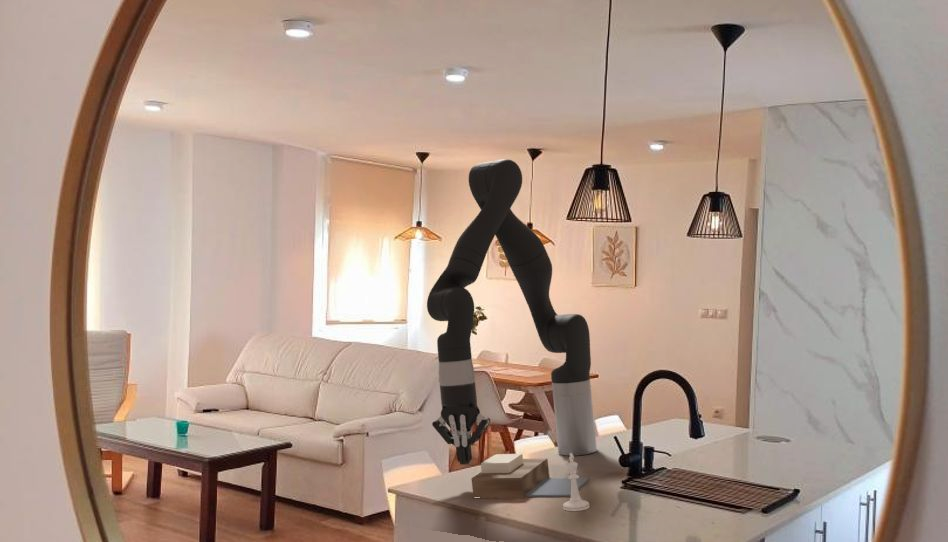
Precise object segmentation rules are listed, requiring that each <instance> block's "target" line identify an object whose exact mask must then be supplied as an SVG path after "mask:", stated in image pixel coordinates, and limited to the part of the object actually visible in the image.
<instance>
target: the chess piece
mask: <svg viewBox="0 0 948 542" xmlns="http://www.w3.org/2000/svg"><path fill="white" fill-rule="evenodd" d="M574 458H575V455H573V453H570V455H569V457H568V460H569V462H567V463H566V467H567V469H568V472H569V475H568V476H567V478H568V479H571V497H570V498H569V500H568V501H565V502H564V503H563V504H562V510H564V511H567V512H582V511H585V510H588V509H589V508H591V507H590V502H589V501H587V500H584V499H583V498H582V497H581V496H580V491H579V490H578V486H577V481H576V479H577V478H580V476H579V475H578V474H577V468H578V464H579V463H578V462H576V461H574Z"/></svg>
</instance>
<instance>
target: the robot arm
mask: <svg viewBox="0 0 948 542" xmlns="http://www.w3.org/2000/svg"><path fill="white" fill-rule="evenodd" d="M522 184H523V174H522V170H521V168H520V166H519V164H517V163H516V162H515V161H514V160H512V159H507V158H506V159H496V160H492V161H491V160H490V161H486V162H485V161H484V162H480V163H477V164H475V165H473V166H472V167H471V168H470V171H469V174H468V186H469V188H470V189H469V190H470V192H471V195H472V197H473V198H474V200H475V203H476V204H477V205H478V207H479V209H480V211H479V213H478V214H477V215H476V216H475V218H474V219H473V220H472V221H471V223H469V224H468V226H467V227H466V228H465V229H464V231H463V232H462V233H461V235H460V236H459V238H458V239H457V240H456V243H455V245H454V247H453V250H452V252H451V255H450V257H449V261H448V263H447V266H446V267H445V269H444V270H443V272H442V273H441V274H440V276H438V279H436V281H435V283H434V284H433V286H432V288H431V289H430V291H429V293H428V295H427V300H426V309H427V312H428V315H429V316H430V318H431V319H433V320H434V321H438V322H447V327H446V331H445V332H444V333H441V334H440V335H439V336H438V337H437V341H436V342H437V343H436V345H437V357H438V358H437V359H438V382H439V391H440V401H441V411H440V416H439V417H438V418H437V419H436V420H434V421H433V422H432V423H431V426H432V427H433V428H434V429H435V431H436V432H437V433H438V435H440V436H441V438H442V439H443V440H444V442H446V444H447V445H453V446H454V447H455V449H456V452H455V453H456V460H457V462H458V463H459V465H462V466H463V465H464V466H465V465H469V464H470V462H472V459H473V454H472V445H473V444H475V443H478V441H479V440H480V439H481V437H482V435H483V434H484V432H485V431H486V429H488V426H489V424H490V423H491V419H490V418H489V417H485V416H484V415H482V414H481V411H480V408H479V407H478V401H477V400H478V399H477V389H476V377H475V368H474V363H473V360H472V347H471V336H472V331H473V329H472V328H473V323H474V317H475V303H474V302H475V301H474V298H473V296H472V294H471V293H470V291H469V290H468V289H466V287H468V286H471V285H473V284H474V283H475V282H476V281H477V279H478V277H479V275H480V272H481V270H482V266H484V265H483V264H484V261H485V258H486V256H487V253H488V251H489V248H490V247H491V245H492V242H493V240H494V238H495V237H496V239H497V241H498V244H499V245H500V247H501V249H502V251H503V254H504V256H505V258H506V260H507V263H508V265H509V267H510V269H511V270H510V271H512V273H513V276H514V278H515V281H516V282H517V284H518V285H519V288H520V290H521V292H522V295H523V297H524V299H525V301H526V304H527V307H528V309H529V312H530V315H531V317H532V321H533V324H534V326H535V330H536V331H537V334H538V338H539V340H540V342H541V344H542V346H543V347H544V349H545V350H546V351H548V352H549V353H554V354H562V353H563V354H565V360H564V363H563V364H562V365H560V366H559V367H556V368H554V369H553V370H552V371H550V377H551V379H550V380H551V387H552V396H553V407H554V408H553V409H554V417H555V418H554V419H555V430H556V441H557V450H558V454H559V455H562V456H570V453H573V456H581V455H582V456H583V455H588V454H589V455H590V454H592V453H596V452H597V441H596V438H597V437H596V429H595V428H596V427H595V419H594V418H595V417H594V408H593V407H594V406H593V405H594V404H593V396H592V389H591V388H592V387H591V386H592V385H591V379H590V378H591V377H590V376H591V375H590V374H591V373H590V372H591V367H592V366H591V365H592V359H591V337H590V335H591V334H590V329H589V325H588V322H587V320H586V318H585V317H584V316H583V315H582V314H578V313H571V314H570V313H569V314H558V313H557V312H556V310H555V309H554V306H553V304H552V301H551V298H550V290H551V283H552V277H553V263H552V261H551V258H550V256H549V254H548V252H547V250H546V247H545V245H544V243H543V241H542V239H541V238H540V237H539V236H538V235H537V234H536V233H535V231H533V230H532V229H531V228H530V227H528V226H527V224H526V223H524V222H523V221H522V220H521V219H520V218H519V217H517V216H516V215H515V213H514V212H513V210H512V206H513V204H514V203H515V201H516V200H517V199H518V198H517V197H518V196H519V194H520V191H521V189H522ZM475 423H476V425H477V427H476V429H475V430H474V432H473V427H474V425H475ZM447 426H448V427H449V428H448V427H447Z"/></svg>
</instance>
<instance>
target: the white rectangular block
mask: <svg viewBox="0 0 948 542" xmlns="http://www.w3.org/2000/svg"><path fill="white" fill-rule="evenodd" d="M523 459H524V457H523V453H502V454H501V453H498V454H497V453H496V454H494V455H492V456H491V457H488V458H487V459H485V460H483V462H481V463H480V469H481V472H482V473H510V472H511V471H513V470H514V469H516V468H517V467H518V466H520V465H521V464H523Z"/></svg>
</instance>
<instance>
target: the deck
mask: <svg viewBox="0 0 948 542" xmlns="http://www.w3.org/2000/svg"><path fill="white" fill-rule="evenodd" d="M545 478H550V471H549V461H548V458H547V457H545V458H523V464H521V465H520V466H518V467H517V468H516V469H514V470H513V471H511V472H510V473H482V471H481V472H479V473H478V474H476V475H475V476H473V477H472V478H471V489H472V498H473V497H480V498H479V499H524V498H526V497H525V494H526V493H528V492H529V491H530V490H531V489H533V488H534V487H535V486H536V485H538V484H539V483H540V482H541V481H542V480H544V479H545Z"/></svg>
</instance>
